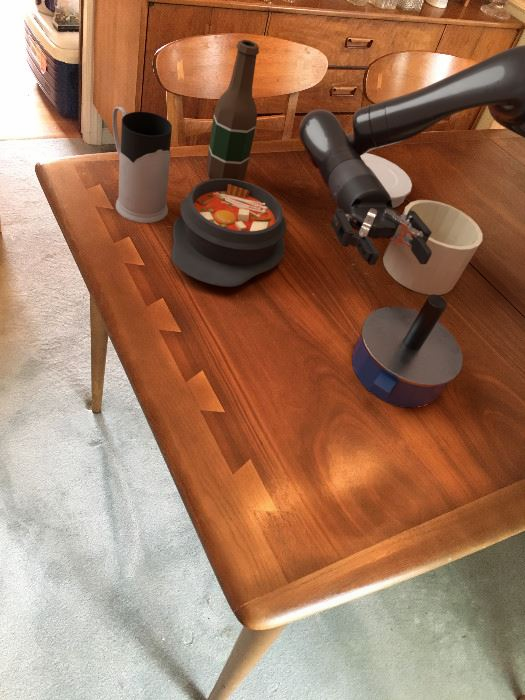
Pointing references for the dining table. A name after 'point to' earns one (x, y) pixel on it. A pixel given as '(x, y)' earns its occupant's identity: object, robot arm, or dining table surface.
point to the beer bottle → (234, 119)
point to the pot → (435, 249)
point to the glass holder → (143, 165)
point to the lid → (389, 177)
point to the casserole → (228, 232)
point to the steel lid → (413, 343)
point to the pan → (389, 382)
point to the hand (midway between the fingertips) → (401, 260)
